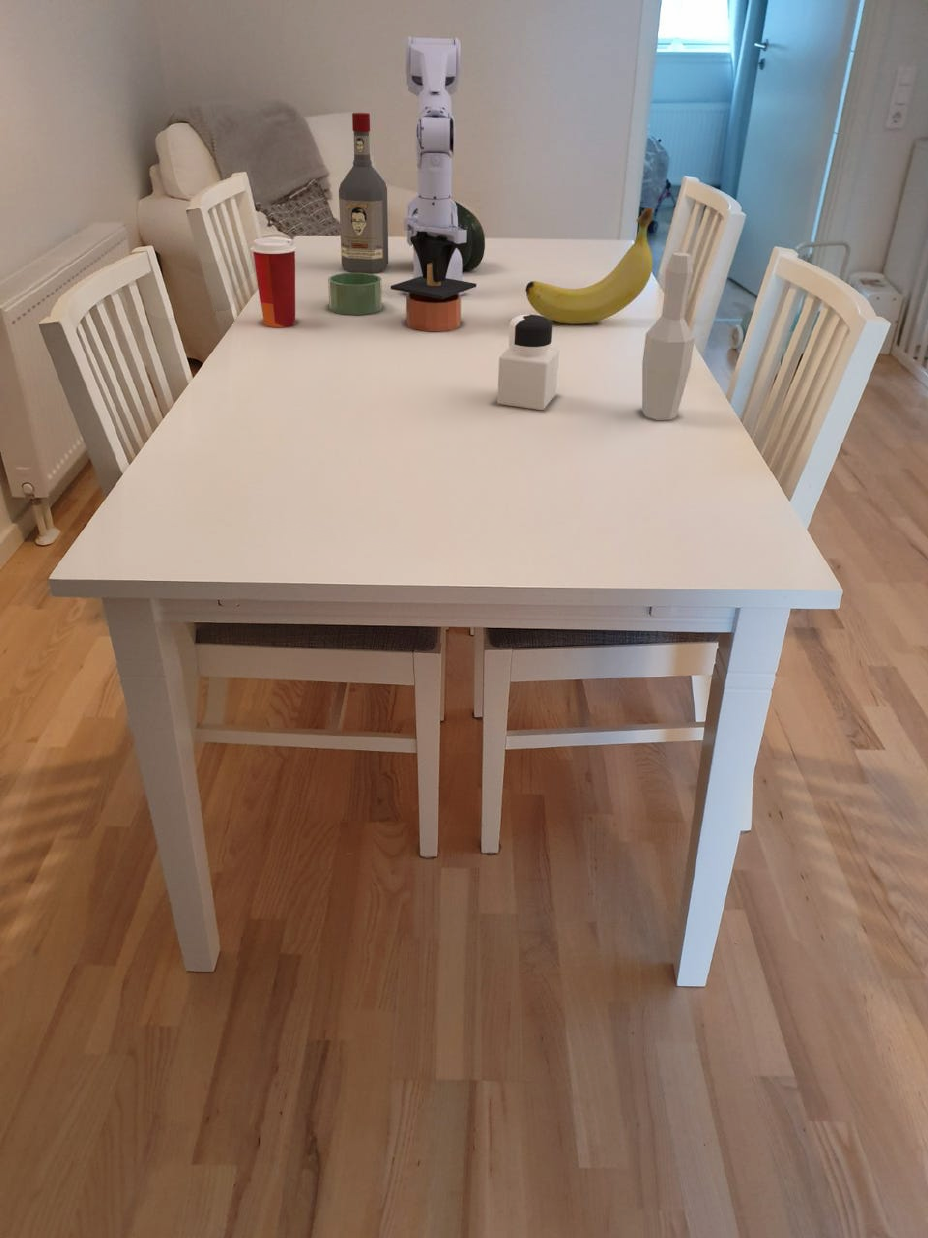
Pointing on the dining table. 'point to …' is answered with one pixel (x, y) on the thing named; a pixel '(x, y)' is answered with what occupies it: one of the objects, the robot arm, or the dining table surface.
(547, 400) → the medicine bottle
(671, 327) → the faceted bottle
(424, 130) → the robot arm
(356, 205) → the liquor
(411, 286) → the dark square pegged slab
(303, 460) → the dining table surface
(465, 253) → the squash
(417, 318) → the terracotta cup
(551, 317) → the banana
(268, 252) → the paper cup
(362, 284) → the sage cup
